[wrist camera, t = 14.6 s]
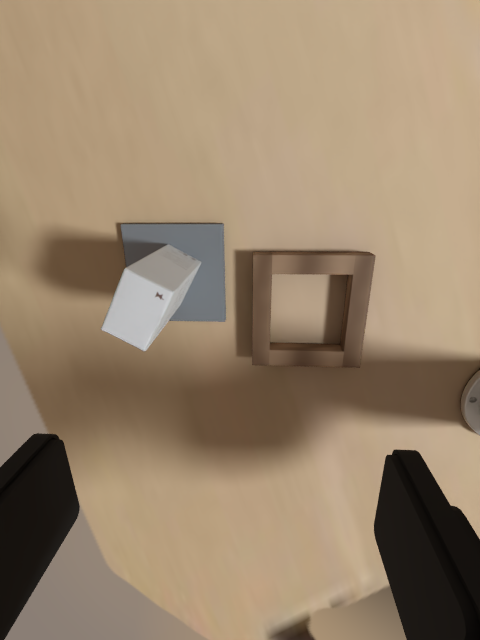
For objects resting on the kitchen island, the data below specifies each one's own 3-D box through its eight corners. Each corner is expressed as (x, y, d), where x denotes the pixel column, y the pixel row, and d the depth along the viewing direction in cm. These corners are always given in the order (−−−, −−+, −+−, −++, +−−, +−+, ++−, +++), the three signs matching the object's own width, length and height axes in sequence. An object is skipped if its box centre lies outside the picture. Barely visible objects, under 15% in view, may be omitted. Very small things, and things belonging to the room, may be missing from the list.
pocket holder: (369, 252, 35) (375, 255, 34) (355, 359, 40) (359, 367, 38) (253, 251, 36) (253, 254, 34) (252, 357, 41) (252, 364, 39)
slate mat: (223, 223, 35) (222, 224, 34) (225, 319, 39) (225, 321, 38) (123, 223, 36) (120, 224, 35) (135, 317, 40) (133, 320, 39)
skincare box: (167, 242, 36) (124, 264, 24) (202, 261, 36) (176, 291, 25) (146, 289, 38) (98, 330, 26) (180, 307, 38) (146, 354, 27)
